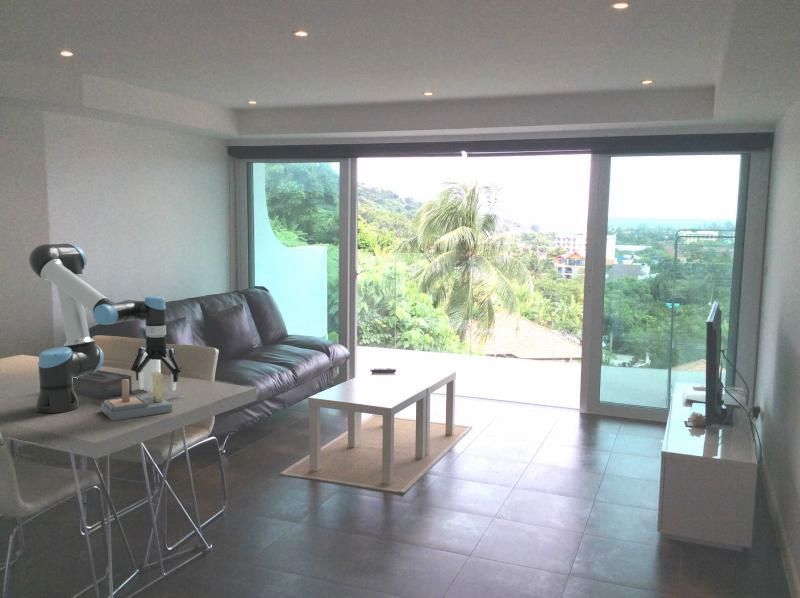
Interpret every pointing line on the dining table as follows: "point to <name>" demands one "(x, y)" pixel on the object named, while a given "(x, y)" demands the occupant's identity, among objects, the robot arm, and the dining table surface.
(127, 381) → the cover
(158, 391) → the key
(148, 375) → the cup
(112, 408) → the housing
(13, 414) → the dining table surface
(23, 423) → the dining table surface
